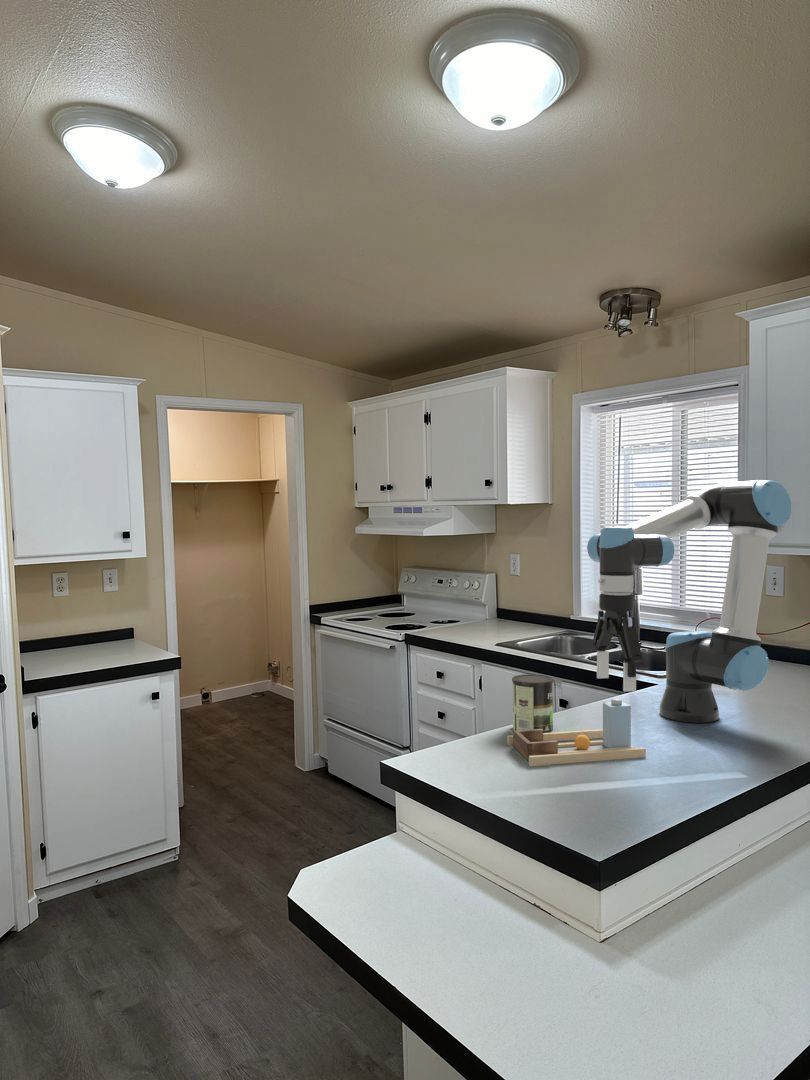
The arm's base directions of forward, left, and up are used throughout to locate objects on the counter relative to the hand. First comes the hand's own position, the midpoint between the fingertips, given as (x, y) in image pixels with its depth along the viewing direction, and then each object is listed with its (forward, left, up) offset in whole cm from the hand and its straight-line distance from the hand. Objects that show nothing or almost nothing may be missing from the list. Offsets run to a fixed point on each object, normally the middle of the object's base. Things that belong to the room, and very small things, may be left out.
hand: (615, 684), depth 169 cm
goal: (+20, 0, -15) cm, 25 cm away
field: (+10, 0, -16) cm, 19 cm away
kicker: (0, 0, -15) cm, 15 cm away
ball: (+8, 0, -13) cm, 15 cm away
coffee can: (+14, -18, -16) cm, 28 cm away
